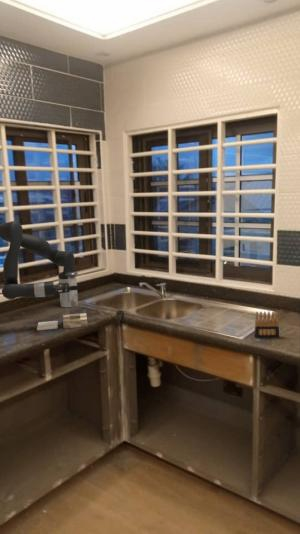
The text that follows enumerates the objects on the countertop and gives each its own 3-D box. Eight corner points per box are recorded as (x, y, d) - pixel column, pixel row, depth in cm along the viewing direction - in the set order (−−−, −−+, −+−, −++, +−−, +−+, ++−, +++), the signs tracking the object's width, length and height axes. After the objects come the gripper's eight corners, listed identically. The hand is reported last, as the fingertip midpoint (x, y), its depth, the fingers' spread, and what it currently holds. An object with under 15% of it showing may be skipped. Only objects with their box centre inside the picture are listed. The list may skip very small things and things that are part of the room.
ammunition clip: (254, 337, 185) (255, 312, 183) (254, 336, 186) (254, 310, 184) (279, 337, 184) (279, 311, 182) (278, 336, 186) (278, 310, 183)
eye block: (63, 321, 219) (63, 315, 218) (86, 319, 221) (86, 313, 220) (63, 328, 207) (63, 321, 207) (87, 326, 210) (87, 319, 209)
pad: (38, 324, 216) (38, 322, 215) (58, 322, 217) (57, 320, 217) (37, 330, 206) (36, 328, 206) (57, 328, 208) (57, 326, 208)
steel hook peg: (74, 302, 217) (71, 271, 213) (82, 304, 213) (80, 272, 210) (65, 305, 212) (63, 273, 209) (74, 307, 208) (71, 274, 205)
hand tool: (117, 317, 224) (116, 308, 223) (124, 317, 223) (123, 308, 223) (110, 328, 205) (109, 319, 205) (118, 328, 205) (117, 319, 204)
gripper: (42, 285, 200) (78, 282, 204) (44, 279, 214) (77, 276, 217) (43, 300, 202) (79, 297, 205) (45, 293, 216) (78, 290, 219)
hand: (78, 286), depth 211 cm, fingers closed on steel hook peg, 4 cm apart
